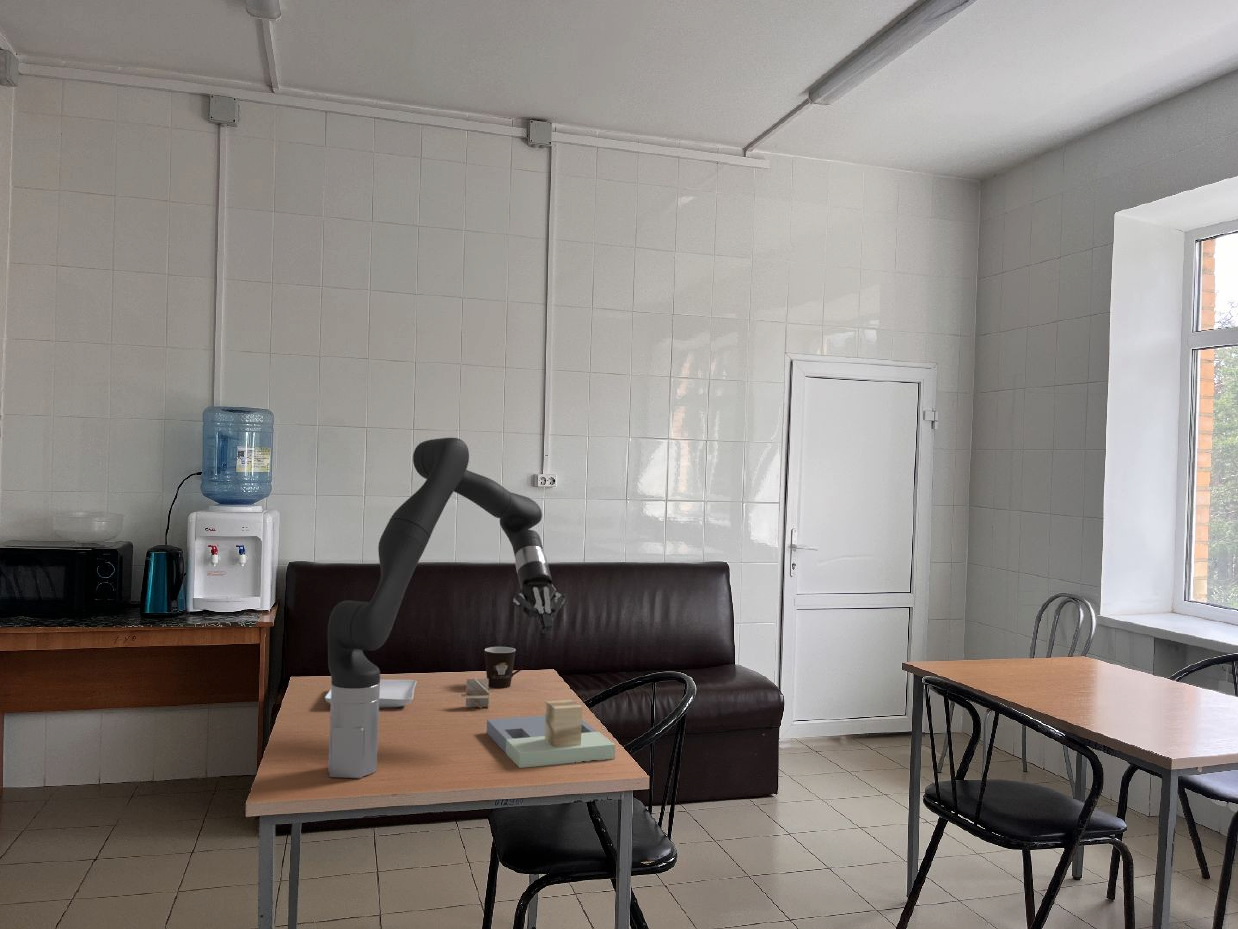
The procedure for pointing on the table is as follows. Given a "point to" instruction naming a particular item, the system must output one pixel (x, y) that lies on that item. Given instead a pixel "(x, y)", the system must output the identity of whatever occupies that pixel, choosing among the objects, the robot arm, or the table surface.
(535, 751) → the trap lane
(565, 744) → the birch block
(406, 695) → the salad plate
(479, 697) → the architectural model
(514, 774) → the table surface
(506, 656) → the coffee mug
